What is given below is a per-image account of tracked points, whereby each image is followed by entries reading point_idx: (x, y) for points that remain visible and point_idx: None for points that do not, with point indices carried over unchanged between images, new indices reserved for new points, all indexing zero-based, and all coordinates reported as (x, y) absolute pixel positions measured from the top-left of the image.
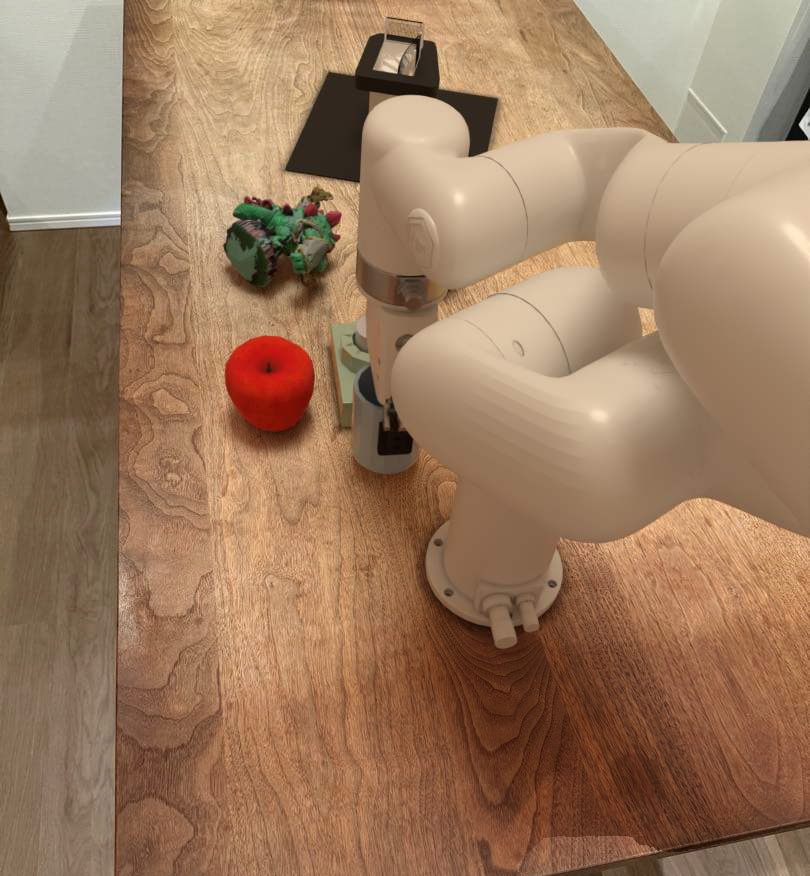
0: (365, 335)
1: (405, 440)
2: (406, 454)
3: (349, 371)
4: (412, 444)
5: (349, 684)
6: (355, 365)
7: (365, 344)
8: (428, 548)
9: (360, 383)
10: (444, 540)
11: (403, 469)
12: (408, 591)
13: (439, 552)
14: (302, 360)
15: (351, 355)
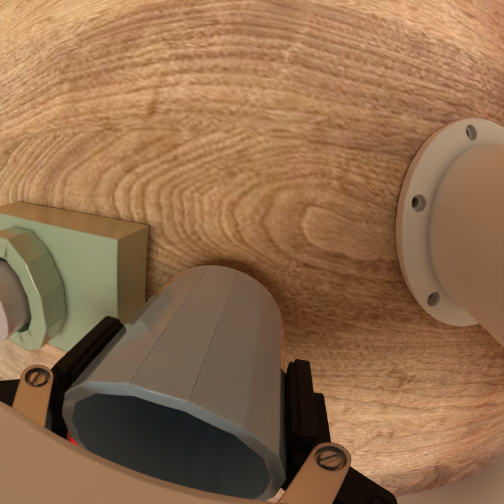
0: (3, 333)
1: (326, 423)
2: (282, 342)
3: (60, 336)
4: (311, 378)
5: (482, 401)
6: (52, 337)
7: (17, 328)
8: (434, 316)
9: (137, 462)
10: (435, 289)
11: (282, 320)
12: (452, 342)
13: (446, 303)
14: (75, 444)
15: (38, 348)
